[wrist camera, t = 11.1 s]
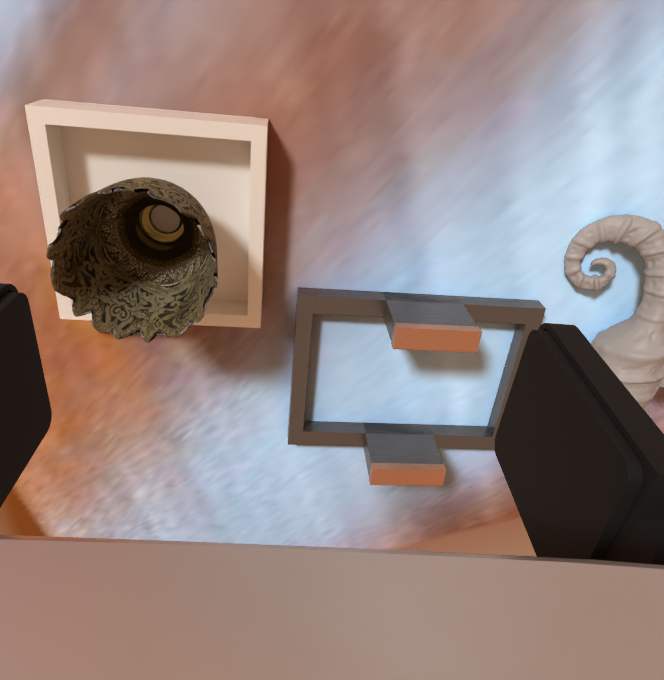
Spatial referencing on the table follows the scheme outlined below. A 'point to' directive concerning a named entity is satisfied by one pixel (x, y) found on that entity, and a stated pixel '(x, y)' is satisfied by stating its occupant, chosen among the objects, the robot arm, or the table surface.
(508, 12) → the table surface
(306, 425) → the frame
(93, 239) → the cup
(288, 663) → the robot arm
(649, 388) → the seahorse
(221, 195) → the tray
